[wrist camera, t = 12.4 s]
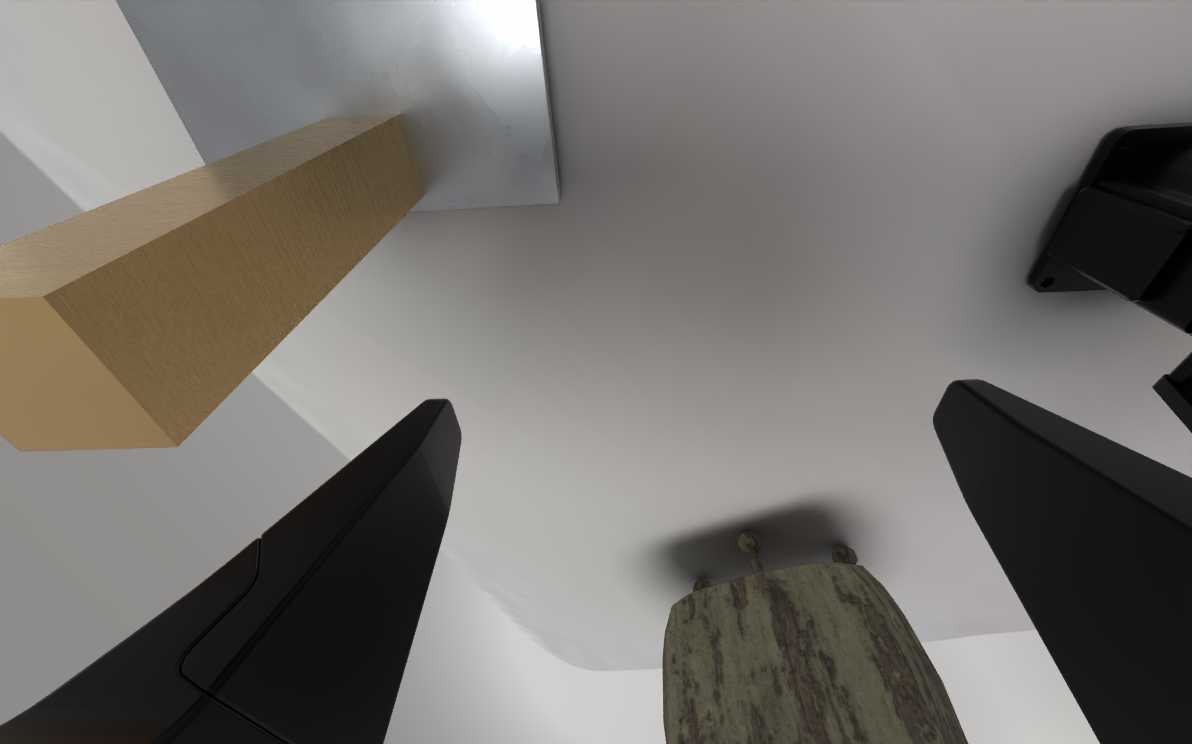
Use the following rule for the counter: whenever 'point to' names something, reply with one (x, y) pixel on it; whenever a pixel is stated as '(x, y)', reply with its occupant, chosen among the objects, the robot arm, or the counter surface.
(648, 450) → the counter surface
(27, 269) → the grey plate wooden post
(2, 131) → the counter surface
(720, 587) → the tabletop clock
